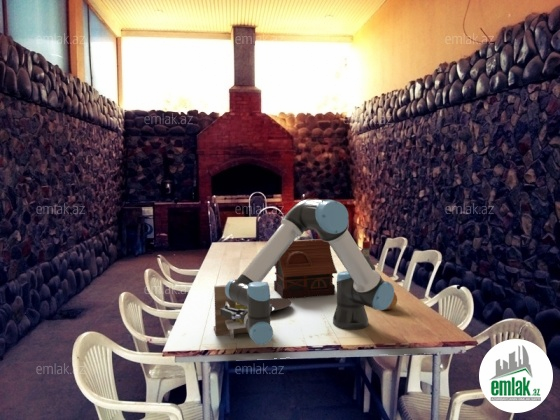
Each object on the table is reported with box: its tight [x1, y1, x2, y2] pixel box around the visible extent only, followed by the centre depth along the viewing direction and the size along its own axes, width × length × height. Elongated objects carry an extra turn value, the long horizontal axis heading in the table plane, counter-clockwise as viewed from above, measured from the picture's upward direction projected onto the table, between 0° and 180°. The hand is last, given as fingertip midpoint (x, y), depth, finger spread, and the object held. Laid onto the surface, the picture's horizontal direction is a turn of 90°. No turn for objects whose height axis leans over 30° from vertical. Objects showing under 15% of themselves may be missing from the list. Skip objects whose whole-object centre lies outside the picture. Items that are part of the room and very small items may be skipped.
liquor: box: [362, 240, 376, 271], centre depth 230 cm, size 9×9×30 cm
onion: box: [385, 291, 398, 311], centre depth 213 cm, size 10×10×10 cm
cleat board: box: [213, 281, 269, 339], centre depth 184 cm, size 15×22×20 cm
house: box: [273, 238, 338, 300], centre depth 245 cm, size 35×28×29 cm
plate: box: [270, 297, 292, 312], centre depth 216 cm, size 28×28×4 cm
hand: (243, 303), depth 181 cm, fingers open, 13 cm apart
